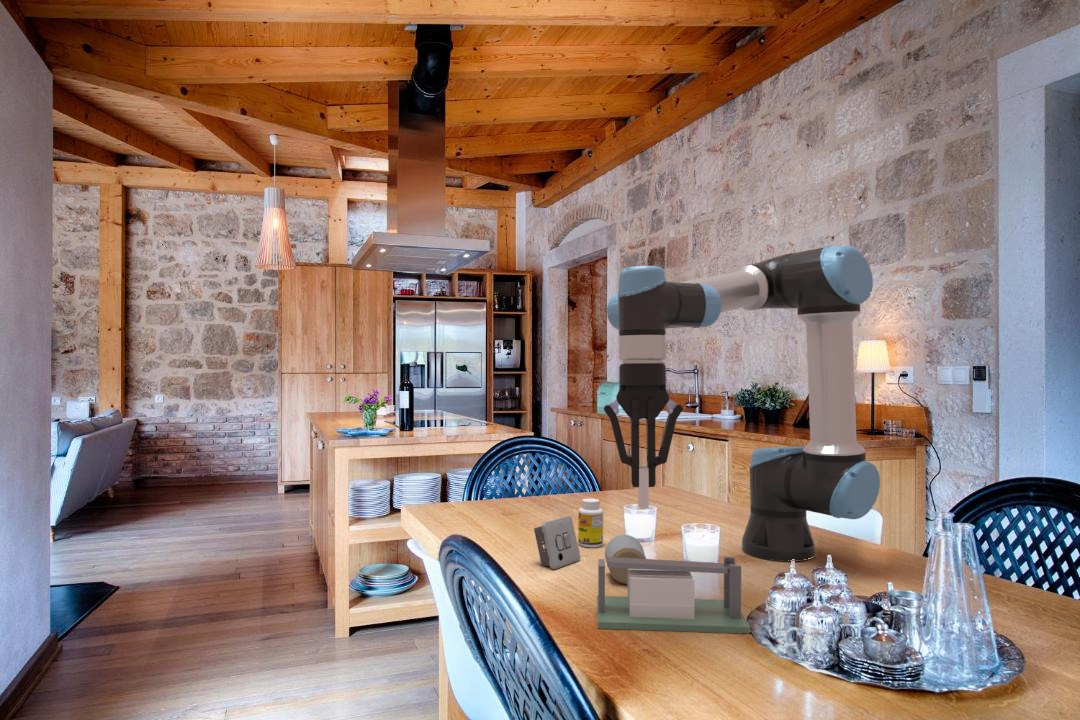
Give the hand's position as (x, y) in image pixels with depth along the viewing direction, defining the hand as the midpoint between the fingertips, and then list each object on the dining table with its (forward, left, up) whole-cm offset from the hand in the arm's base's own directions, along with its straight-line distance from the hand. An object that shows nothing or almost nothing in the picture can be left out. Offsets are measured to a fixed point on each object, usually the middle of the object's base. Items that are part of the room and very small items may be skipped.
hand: (643, 506), depth 109 cm
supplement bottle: (+8, -43, -18) cm, 47 cm away
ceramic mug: (0, -19, -18) cm, 26 cm away
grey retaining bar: (-4, 0, -10) cm, 11 cm away
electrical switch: (+15, -28, -18) cm, 36 cm away
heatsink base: (-4, 0, -18) cm, 18 cm away
